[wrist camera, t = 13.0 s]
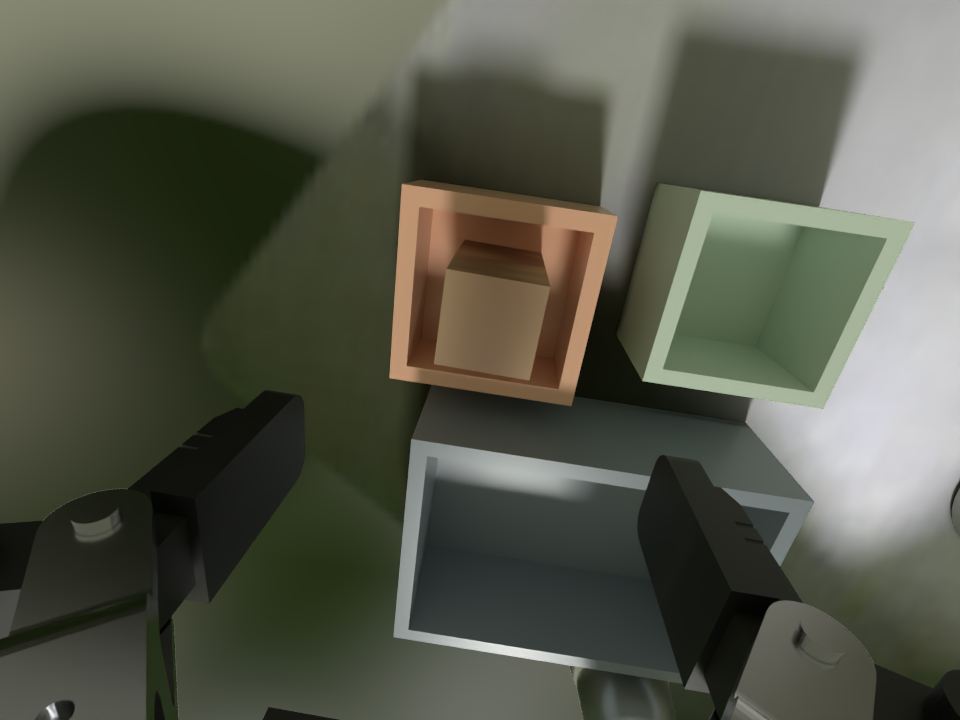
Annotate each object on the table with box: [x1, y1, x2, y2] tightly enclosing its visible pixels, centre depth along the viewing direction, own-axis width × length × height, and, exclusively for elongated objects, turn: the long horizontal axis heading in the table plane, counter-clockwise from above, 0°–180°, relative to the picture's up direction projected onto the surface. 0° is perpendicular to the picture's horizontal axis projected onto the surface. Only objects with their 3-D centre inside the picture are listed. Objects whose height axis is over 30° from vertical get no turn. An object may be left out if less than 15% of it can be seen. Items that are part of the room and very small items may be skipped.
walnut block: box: [434, 240, 550, 381], centre depth 22 cm, size 4×4×7 cm
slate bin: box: [394, 385, 814, 684], centre depth 27 cm, size 19×14×7 cm
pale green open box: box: [616, 183, 915, 409], centre depth 22 cm, size 8×8×6 cm
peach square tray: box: [390, 180, 618, 406], centre depth 23 cm, size 9×9×4 cm
